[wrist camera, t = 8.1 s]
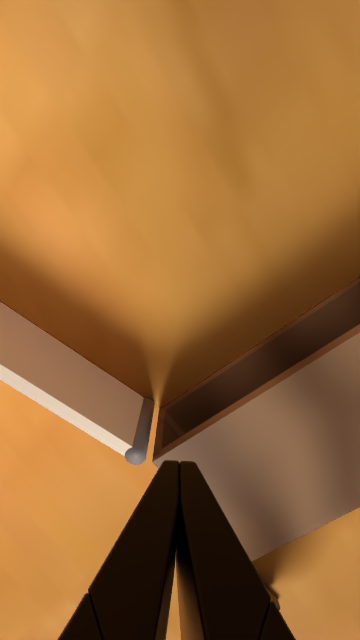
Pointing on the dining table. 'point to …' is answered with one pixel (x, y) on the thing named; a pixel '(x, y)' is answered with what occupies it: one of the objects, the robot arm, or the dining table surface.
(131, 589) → the robot arm
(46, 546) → the dining table surface
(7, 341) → the door
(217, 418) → the walnut box
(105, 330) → the dining table surface
